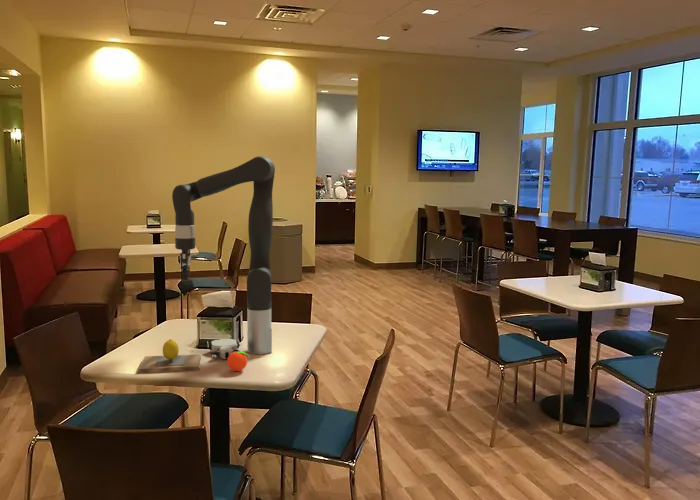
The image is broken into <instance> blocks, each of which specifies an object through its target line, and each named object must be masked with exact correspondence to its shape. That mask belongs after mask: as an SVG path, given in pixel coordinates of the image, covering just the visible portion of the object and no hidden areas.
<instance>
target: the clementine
mask: <svg viewBox="0 0 700 500" xmlns="http://www.w3.org/2000/svg"><path fill="white" fill-rule="evenodd" d="M247 356H248V358H249V359H251V358H250V356H249V354H248V353H246V352H245V351H241V350H239V351H235V352H233V353H231V354H230V355H229V357H228V359H227V361H226V363H227V367H228V368H229V369H230V370H232V371H233V372H241V371H243V370H244V369H245V368H246V367H247V365H248V358H247Z"/></svg>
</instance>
